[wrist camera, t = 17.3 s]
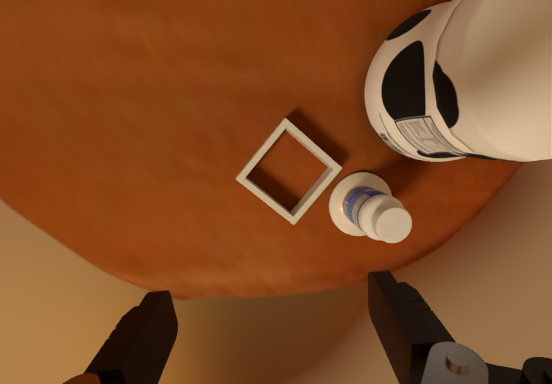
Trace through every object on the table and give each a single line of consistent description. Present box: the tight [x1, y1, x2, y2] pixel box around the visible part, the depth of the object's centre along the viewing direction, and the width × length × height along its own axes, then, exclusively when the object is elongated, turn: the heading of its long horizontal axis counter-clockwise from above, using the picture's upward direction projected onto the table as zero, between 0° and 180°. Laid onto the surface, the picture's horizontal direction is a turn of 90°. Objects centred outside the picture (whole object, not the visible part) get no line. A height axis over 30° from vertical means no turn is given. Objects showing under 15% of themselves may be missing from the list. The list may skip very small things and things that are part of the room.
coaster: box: [329, 172, 392, 236], centre depth 40 cm, size 9×9×1 cm
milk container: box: [365, 0, 552, 162], centre depth 30 cm, size 17×17×18 cm
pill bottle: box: [342, 186, 412, 243], centre depth 35 cm, size 5×5×10 cm
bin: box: [236, 118, 342, 225], centre depth 37 cm, size 10×10×2 cm
